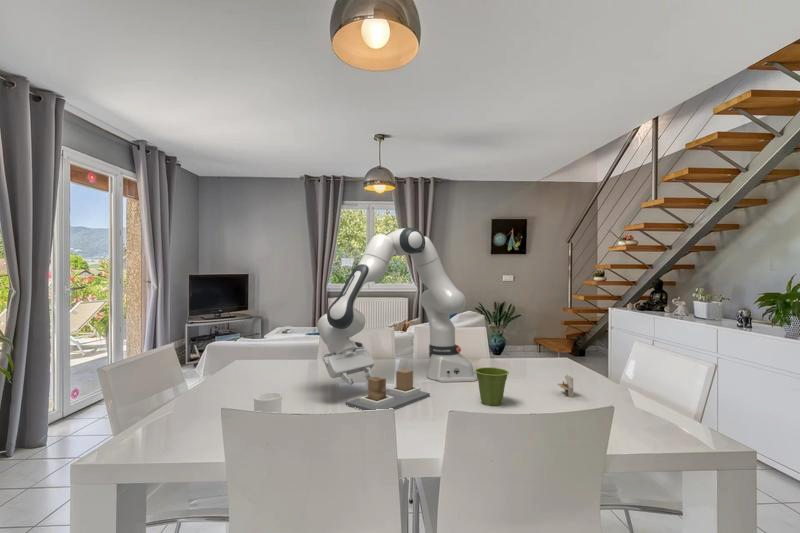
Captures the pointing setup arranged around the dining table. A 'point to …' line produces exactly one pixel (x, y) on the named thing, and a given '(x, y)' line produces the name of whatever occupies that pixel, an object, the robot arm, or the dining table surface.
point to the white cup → (268, 402)
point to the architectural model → (568, 386)
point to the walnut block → (377, 388)
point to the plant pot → (491, 384)
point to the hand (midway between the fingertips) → (360, 381)
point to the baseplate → (393, 394)
